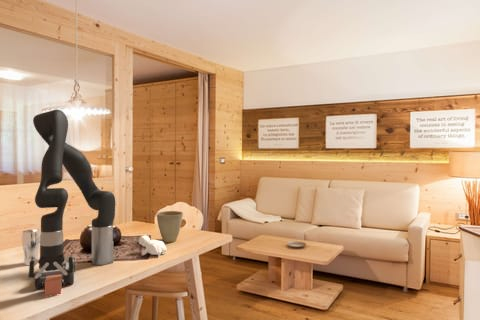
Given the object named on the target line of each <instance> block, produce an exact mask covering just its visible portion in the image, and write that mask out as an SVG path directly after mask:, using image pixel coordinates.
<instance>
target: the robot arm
mask: <svg viewBox="0 0 480 320" xmlns="http://www.w3.org/2000/svg"><path fill="white" fill-rule="evenodd" d="M32 120H33V121H32V123H33V126H34V128H35V130H36V132H37V134H39V136H40V137H41V138H42V140H43V141H44V142H45V143H46V144H47V145H48V147H47V150H46V151H45V153H44V155H43V157H42V160H41V170H40V171H41V173H40V174H41V175H40V176H41V177H40V183H39V185H38V188H37V191H36V192H35V193H36V194H35V196H34V197H35V198H34V203H35V205H36V206H37V207H38V208H39V209H47V208H49V209H51V208H56V209H55V210H54V211H53V212H51V213H50V212H49V213H45V214H43V215H41V217H40V234H39V235H40V243H39V258H38V260H34V259H32V260H31V261H30V265H28V267H29V269H28V277H29V278H32V279H34V288H35V287H37V288H36V289H40V277H39V276H40V275H41V274H42V272H43V271H44V270H46V271H50V270H57V269H59V270H60V271H61V272H62V273H63V274H64V276H63V280H62V281H63V282H62V283H63V286H66V285H67V284H68V274H69V273H72V272H73V258H74V257H73V256H72V255H68V256H64V230H63V221H64V220H63V219H64V212H65V209H66V206H67V202H68V199H69V193H68V190H66V189H65V188H64V187H58V188H57V187H56V188H55V187H54V188H53V187H52V188H49V187H51V186H53V185H57V184H60V183H61V182H62V181H63V171H64V170H63V167H64V169H65V170H66V171H67V173H68V174H69V176H70V178H72V180H73V181H74V183H75V184H76V185H77V187H78V188H79V190H80V192H81V194H82V195H83V197H84V200H85V201H86V203H87V205H88V206H89V207H90V208H91V209H92V210H94V211H97V217H96V218H93V219H92V220H91V264H92V265H95V266H103V265H108V264H112V263H114V221H115V218H116V216H115V215H116V196H115V195H114V193H113V192H111V191H107V190H101V189H100V188H99V187H98V186H97V185H96V183H95V182H94V179H93V169H92V165H91V164H90V162H89V160H88V159H87V157H86V155H85V154H84V153H83V152H82V151H80V150H79V149H77V148H75V147H74V146H73V145H70V144H69V143H66V141H67V135H68V131H69V120H68V118H67V115H66V113H64V111H62V110H61V109H53V110H49V111H45V112H42V113H38V114H36V115H34V117H33V119H32ZM65 261H66V262H67V263H69V269H68V270H67V269H66V268H65V267H64V266H63V265H62V263H63V262H65ZM37 264H38V265H39V264H40V266H41V268H40V269H39V268H38V270H37V271H36V272H37V273H36V272H35V267H36V266H37Z"/></svg>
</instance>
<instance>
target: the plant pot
mask: <svg viewBox="0 0 480 320" xmlns="http://www.w3.org/2000/svg"><path fill="white" fill-rule="evenodd" d="M183 216H184V213H183V212H182V211H179V210H178V211H177V210H167V211H160V212H157V213H156V221H157V225H158V229H159V234H160V236H161V239H162V242H163V243H174V242H176V241H177V239H178V237H179V235H180V230H181V228H182V222H183Z"/></svg>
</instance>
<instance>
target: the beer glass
mask: <svg viewBox="0 0 480 320" xmlns="http://www.w3.org/2000/svg"><path fill="white" fill-rule="evenodd" d="M40 235H41V234H40V229H37V228H34V229H33V228H31V229H25V230H23V231H22V233H21V246H22V250H23V261H22V262H23V263H22V265H23V266H29V265H30V261H31V260H32V259H34V260H39V255H38V254H39V250H40Z"/></svg>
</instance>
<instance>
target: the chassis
mask: <svg viewBox="0 0 480 320" xmlns="http://www.w3.org/2000/svg"><path fill="white" fill-rule="evenodd" d="M62 265H63V266H64V267H65V268H66V269H67V270H68V269H69V263H67V262H66V261H65V260H64V262H63V263H62ZM40 268H41V266H40V264H39V263H38V270H39V269H40ZM75 270H76V258H75V257H73V272H72V273H69V274H68V282H67V284H68V285H70V284H75V272H76V271H75ZM37 272H38V271H35V273H37ZM60 274H62V281H63V276H64V274H63V273H62V272H61V271H60V270H59V269H57V270H50V271H46V270H44V271H43V272H42V274H41V275H40V276H39V277H40V288H42V287H43V283H45V280H46V276H51V275H60ZM40 288H39V289H40ZM34 289H37V287H35V286H34Z"/></svg>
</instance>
